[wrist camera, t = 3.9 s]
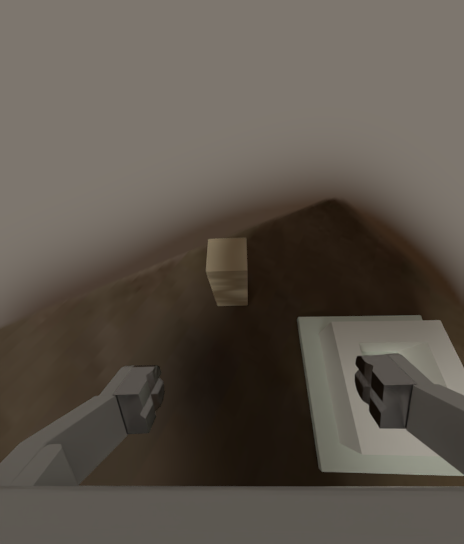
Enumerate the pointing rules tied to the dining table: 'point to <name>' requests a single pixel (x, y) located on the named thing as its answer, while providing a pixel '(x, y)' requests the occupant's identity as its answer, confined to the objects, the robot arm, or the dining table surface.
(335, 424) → the white socket base
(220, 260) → the tan tall wooden block
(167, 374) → the dining table surface
